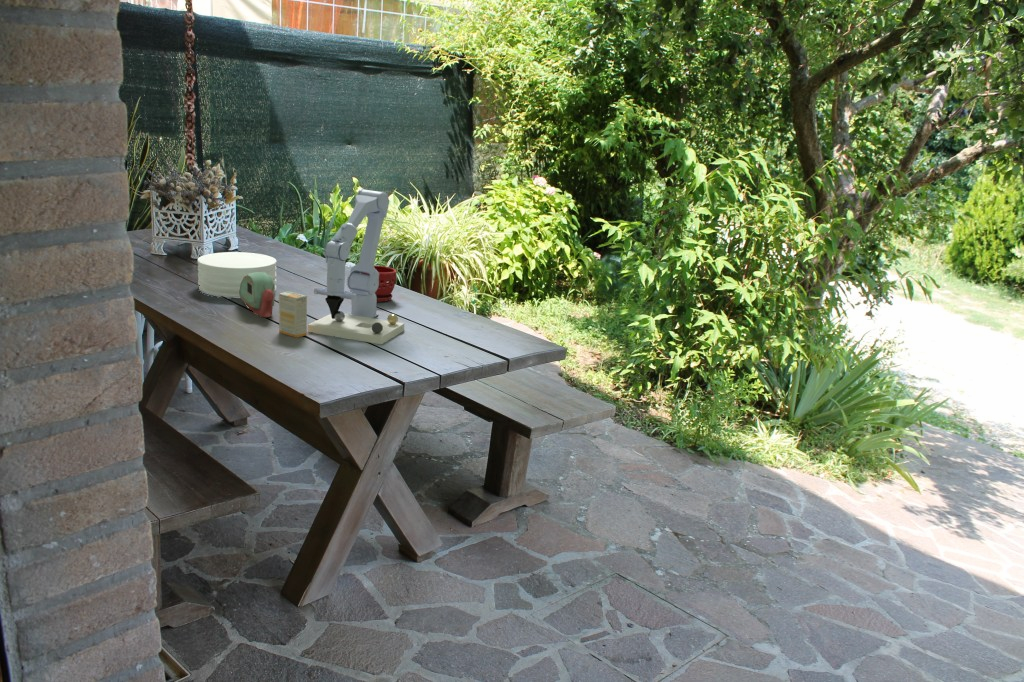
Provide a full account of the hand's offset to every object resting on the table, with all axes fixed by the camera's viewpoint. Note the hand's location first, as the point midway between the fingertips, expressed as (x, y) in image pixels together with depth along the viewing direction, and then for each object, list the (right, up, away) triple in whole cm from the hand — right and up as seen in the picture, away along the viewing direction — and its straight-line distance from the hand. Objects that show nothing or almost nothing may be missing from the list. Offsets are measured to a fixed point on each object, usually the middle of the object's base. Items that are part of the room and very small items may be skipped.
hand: (334, 318), depth 284 cm
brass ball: (+19, 0, +1) cm, 19 cm away
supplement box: (-11, -5, -9) cm, 15 cm away
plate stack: (-44, +12, +39) cm, 60 cm away
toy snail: (-29, +3, +13) cm, 32 cm away
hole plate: (+8, -4, -1) cm, 9 cm away
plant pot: (+8, +8, +41) cm, 43 cm away
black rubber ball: (+16, -3, -10) cm, 19 cm away
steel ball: (+2, +1, 0) cm, 2 cm away
